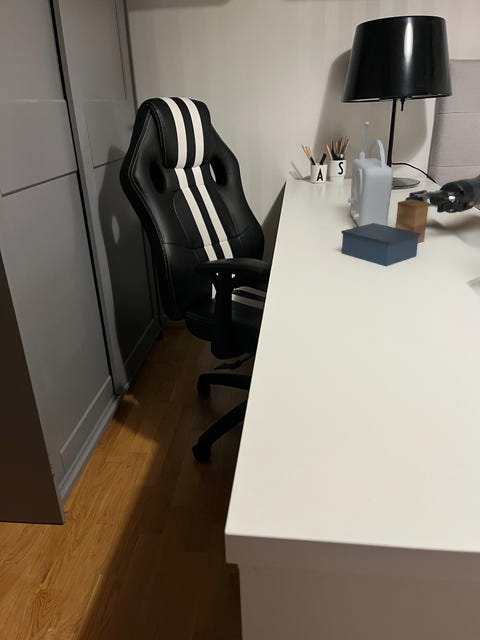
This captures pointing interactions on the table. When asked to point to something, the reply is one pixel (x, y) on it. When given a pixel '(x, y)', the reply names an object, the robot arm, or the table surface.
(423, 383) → the table surface
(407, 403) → the table surface
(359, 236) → the storage box
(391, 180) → the radio
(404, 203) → the brown wooden block
